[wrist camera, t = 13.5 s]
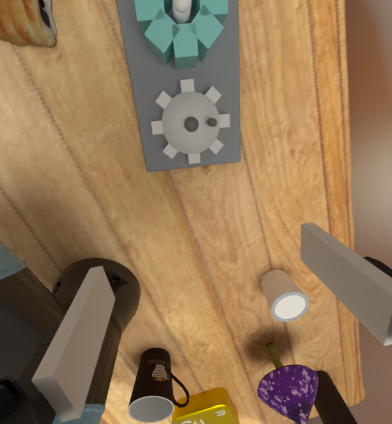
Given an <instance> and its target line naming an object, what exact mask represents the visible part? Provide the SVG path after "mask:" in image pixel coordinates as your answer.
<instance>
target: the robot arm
mask: <svg viewBox="0 0 392 424" xmlns="http://www.w3.org/2000/svg"><path fill="white" fill-rule="evenodd" d="M300 259H301V260H302V261H303V262H304V263H305V264H306V265H307V267H308V268H309V269H310V270H311V271H312V272H313V273H314V274H315V275H316V276H317V277H318V278H319V279H320V280H321V281H322V282H323V283H324V284H325V285H326V286H327V287H328V288H329V289H330V290H331V292H332V293H333V294H334V295H335V296H336V297H337V298H338V299H339V300H340V301H341V302H342V303H343V304H344V305H345V306H346V307H347V308H348V309H349V310H350V311H351V312H352V313H353V314H354V315H355V316H356V318H357V319H358V320H359V321H360V322H361V323H362V324H363V325H364V326H365V327H366V328H367V329H368V330H369V331H370V332H371V333H372V334H373V335H374V336H375V337H376V338H377V339H378V340H379V341H380V342H381V343H382V344H383V346H386V345H390V344H392V269H390V268H389V267H388V266H386V265H385V264H383V263H382V262H380V261H378V260H376V259H373V258H370V257H363V258H362V257H361V256H360V255H358V254H357V253H355V252H354V251H352V250H351V249H350V248H348V247H347V246H345V245H344V244H342V243H341V242H340V241H338V240H337V239H335V238H334V237H332V236H331V235H330V234H328V233H327V232H325V231H324V230H323V229H321V228H320V227H318V226H317V225H315V224H314V223H313V222H312V223H307V224H302V225H301V256H300ZM27 266H28V264H27V262H25V261H22V260H21V259H19V258H18V257H17V256H16V255H15V254H14V253H13V252H12V251H11V250H10V249H9V248H8V247H7V246H6V245H5V244H4V243H2V242H1V241H0V424H99V422H100V419H101V416H102V414H103V413H104V411H105V403H106V399H107V394H108V390H109V386H110V382H111V377H112V373H113V369H114V364H115V360H116V356H117V352H118V347H119V343H120V339H121V335H122V333H123V331H124V330H125V328H126V327H127V325H128V324H129V322H130V321H131V319H132V317H133V316H134V315H135V313H136V311H137V309H138V306H139V301H140V296H141V290H140V285H139V283H138V281H137V279H136V277H135V276H134V275H133V274H132V273H131V272H130V271H129V270H128V269H127V268H125V267H124V266H122V265H120V264H118V263H116V262H113V261H109V260H104V259H87V260H82V261H79V262H76V263H74V264H72V265H71V266H69V267H68V268H67V269H65V270H64V272H63V273H62V274H61V276H60V277H59V278H58V280H57V281H56V283H55V285H54V287H53V290H52V293H51V292H50V291H49V290H48V289H47V288H46V287H45V286H44V285H43V283H42V282H41V281H40V280H39V279H38V278H37V277H36V276H35V275H34V274H33V273H32V271H31V270H30V269H29V268H28V267H27Z"/></svg>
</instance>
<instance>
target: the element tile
mask: <svg viewBox="0 0 392 424" xmlns="http://www.w3.org/2000/svg"><path fill="white" fill-rule="evenodd" d="M186 401H187V397H186V398H183V399H179V400H177V402H178V403H180V404H184V403H185V402H186ZM172 424H240V423H239V418H238V413H237V410H236V408H235V406H234V404H233V402H232V400H231V398H230V396H229V395H228V393H227V391H226V389H224V388H215V389H212V390H208V391H205V392H202V393H199V394H196V395H192V396H190V399H189V404H188V405H187V406H186V407H184V408H179V407H177V406H175V405H174V412H173V414H172Z"/></svg>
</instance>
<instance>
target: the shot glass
mask: <svg viewBox="0 0 392 424" xmlns="http://www.w3.org/2000/svg"><path fill="white" fill-rule="evenodd" d="M261 286H262V289H263V292H264V294H265V297H266V300H267V303H268V305H269V308H270V311H271V313H272V316H273V317H274V318H275V319H277V320H279V321H283V322H286V321H293V320H295V319H298V318H299V317H301V316H302V315H303V314H305V312H306V311H307V309H308V307H309V300H308V297H307V296H306V295H305V294H304V293H303V291H302V290H301V289H300V288H299V287H298V286H297V285H296V284H295V283H294V281H293V280H292V279H291V278H290V277H289V276H288V275H287V274H286V273H285V272H284V271H283V270H279V269H276V270H271V271H269V272H267V273H266V274H265V275H264V276H263V277H262V279H261Z"/></svg>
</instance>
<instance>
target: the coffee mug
mask: <svg viewBox="0 0 392 424" xmlns="http://www.w3.org/2000/svg"><path fill="white" fill-rule="evenodd" d="M172 378H173V379H174V380H175V381H176V382H177V383H178V384H179V385H180V386H181V387H182V388H183V390H184V391H185V393H186V396H187V401H186V402H185V403H184V404H180V403H178V402H177V401H176V400H175V398H174V396H173V387H172ZM189 399H190V396H189V393H188V391H187V389H186V388H185V386H184V385H183V384H182V383H181V382H180V381H179V380H178V379H177V378H176V377H175V376H174V375H173V374H172V373H171V365H170V355H169V353H168V352H167V351H166V350H164V349H161V348H152V349H148V350H147V351H145V352H144V353H143V354H142V357H141V361H140V365H139V369H138V372H137V376H136V380H135V384H134V388H133V392H132V395H131V399H130V403H129V407H128V414H129V416H130V417H131V418H132V419H134V420H136V421H139V422H144V423H154V422H159V421H162V420H165V419H167V418H168V417H170V416H171V415H172V414H173V412H174V405H175V406H177V407H179V408H184V407H186V406H187V405H188V404H189Z"/></svg>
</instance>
